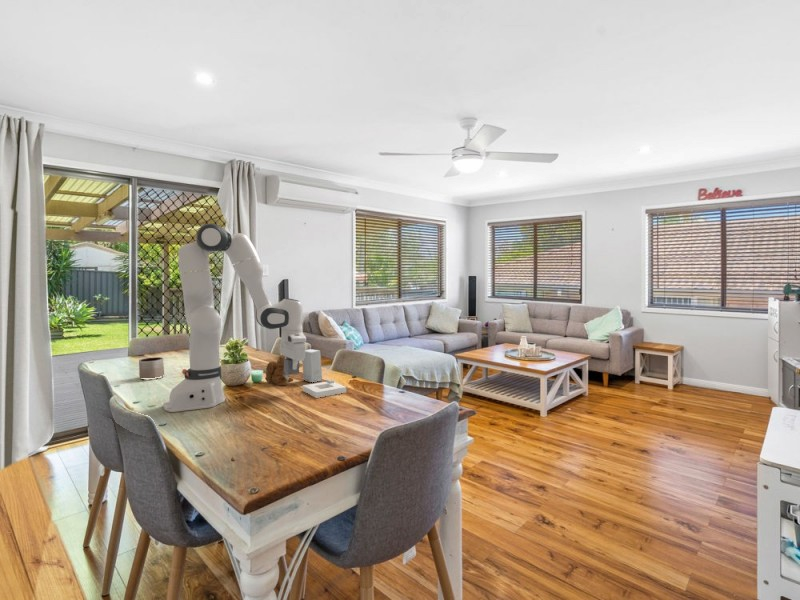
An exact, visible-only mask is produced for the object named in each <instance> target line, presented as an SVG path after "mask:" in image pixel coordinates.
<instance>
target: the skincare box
mask: <svg viewBox="0 0 800 600" xmlns="http://www.w3.org/2000/svg"><path fill="white" fill-rule="evenodd" d="M301 363H302V375H303V377H302V378H303V381H304V380H305V381H304V382H309V383H311V382H312V383H311V384H314V383H318V382H317V381H320V382H322V381H323V374H322V357H321V350H319V349H313V348H312V349H305V358H304V360H303V361H302V362H301ZM321 380H322V381H321ZM313 382H314V383H313Z"/></svg>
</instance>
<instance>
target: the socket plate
mask: <svg viewBox="0 0 800 600" xmlns="http://www.w3.org/2000/svg"><path fill="white" fill-rule="evenodd" d="M302 392H304V393H306V394H307V393H308V394H307V395H309V394H310V396H312V397H313V398H315V399H320V397H321V398H326V397H331V396H336V395H335V394H337V395H340V394H341V393H342V394H346V393H347V387H346V386H344V385H342V384H340V383H338V382H336V381H335V380H333V379H327V380H326V381H323V382H322V381H320V382H314V383H310V384H304V385H302ZM342 394H341V395H342ZM330 395H331V396H330ZM325 396H326V397H325Z"/></svg>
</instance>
